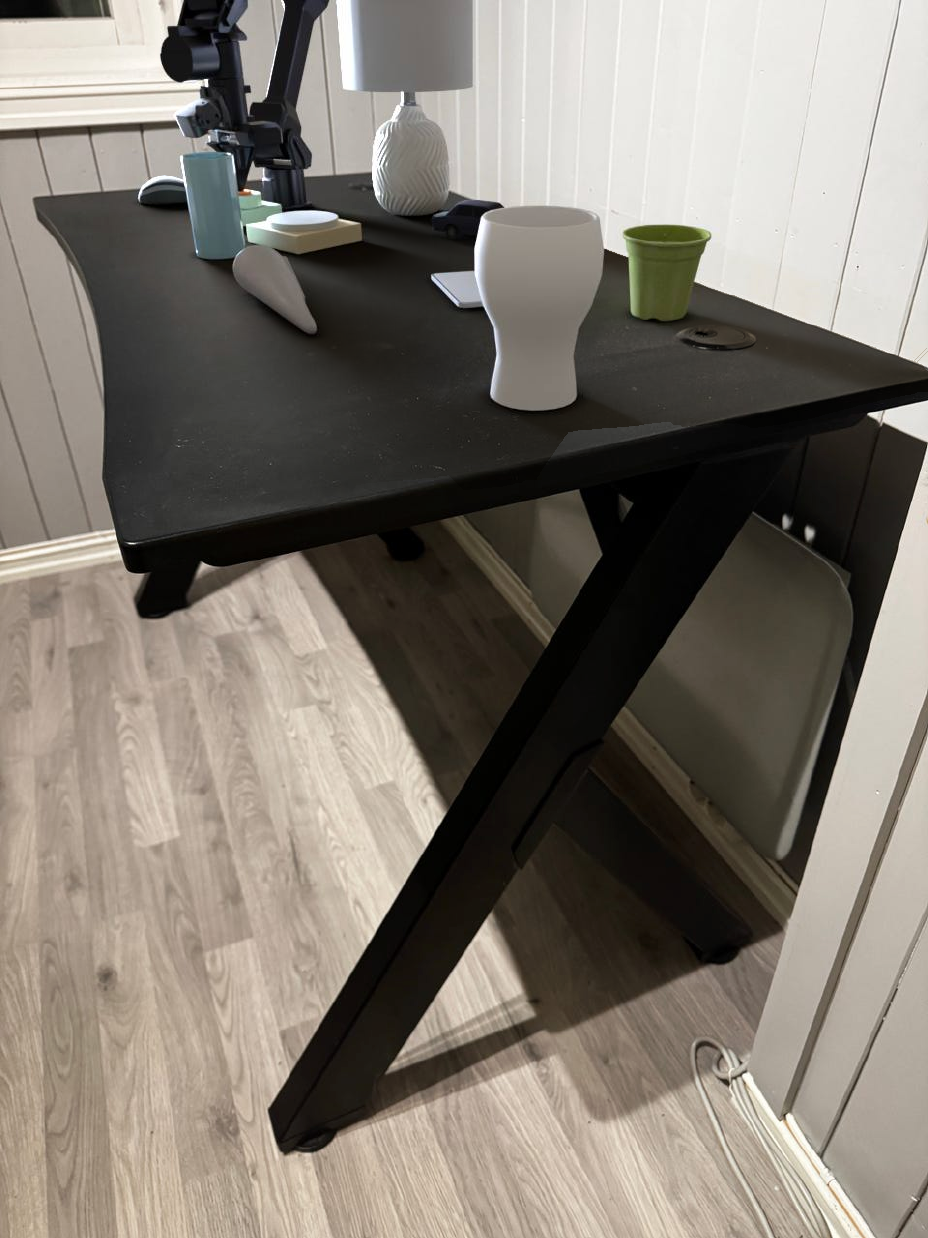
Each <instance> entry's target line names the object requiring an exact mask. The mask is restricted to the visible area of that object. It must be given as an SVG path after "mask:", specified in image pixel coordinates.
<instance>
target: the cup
mask: <svg viewBox="0 0 928 1238" xmlns="http://www.w3.org/2000/svg"><path fill="white" fill-rule="evenodd" d="M476 236H477V237H476V241H475V245H474V270H475V277H476V281H477V285H478V288H479V292H480V296H481V300H482V303H483V306H484V307H483V308H484V311H485V312H486V314H487V316H488V318H489V320H490V323H491V325H492V327H493V334H494V342H495V353H496V356H495V362H494V367H493V372H492V378H491V384H490V393H489V395H490V398H491V399H492V400H493V401H494V402H495V403H497V404H499V405H501V406H503V407H507V408H510V409H516V410H520V411H533V412H535V411H549V410H556V409H560V408H564V407H567V406H569V405H571V404H572V403H573V402H575V401H576V399H577V396H578V391H577V376H576V367H575V366H576V365H575V357H574V356H575V349H576V345H577V341H578V340H577V339H578V334H579V331H580V330H579V329H580V327H581V326H582V323H583V322H584V320H585V318H586V316H587V315H588V313H589V311H590V309H591V308H592V305H593V303H594V300H595V297H596V294H597V291H598V289H599V285H600V283H601V280H602V277H603V270H604V269H603V268H604V257H605V247H604V239H603V232H602V225H601V219H600V216H599V215H598V214H597V213H595V212H593V211H591V210H588V209H584V208H577V207H571V206H560V205H542V204H541V205H516V206H506V207H505V208H500V209H495V210H491V211H489V212H486V213H484V214H483V215H482V217H481V221H480V226H479V231H478V235H476Z"/></svg>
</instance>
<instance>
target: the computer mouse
mask: <svg viewBox="0 0 928 1238" xmlns="http://www.w3.org/2000/svg"><path fill="white" fill-rule="evenodd" d="M138 201H139V203H141V204H147V205H168V204H169V205H170V204H171V205H172V204H186V203H187V204H188V201H187V195H186V189H185V183H184V179H182V178H178V177H175V176H171V175H170V176H169V175H160V176H156V177H153V178H151V179H150V180H148V181H147V182H146V183H145V184H143V185H142V186H141V188H140V191H139V194H138Z"/></svg>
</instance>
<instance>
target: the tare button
mask: <svg viewBox="0 0 928 1238" xmlns="http://www.w3.org/2000/svg"><path fill="white" fill-rule="evenodd" d="M251 190H252V189H247V188H244V190H243V191H238V195H239V196H245V195H251Z"/></svg>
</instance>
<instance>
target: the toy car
mask: <svg viewBox="0 0 928 1238" xmlns="http://www.w3.org/2000/svg"><path fill="white" fill-rule="evenodd" d="M500 208H506V207H505V206H504V205H503V204H501V202H497V201H491V200H481V199H463V200H460V201H459V202H457V203H456V204H455V205H454V206H453V207H452V208H451V209H450V210H448V211H442V212H441V211H440V212H439V213H436V214H433V216H432V217H431V219H430V220H431V221H430V222H431V224H432V225H431V228H432V231H433V232H434V231H435V232H441V233H445V236H446V237H447V238H448V239H450V240H454V239H457V238H458V236H459V234H460V235H470V236H477V235H478V231H479V226H480V221H481V217H482V215H483V214H484V213H486V212H489V211H491V210H495V209H500Z"/></svg>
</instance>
